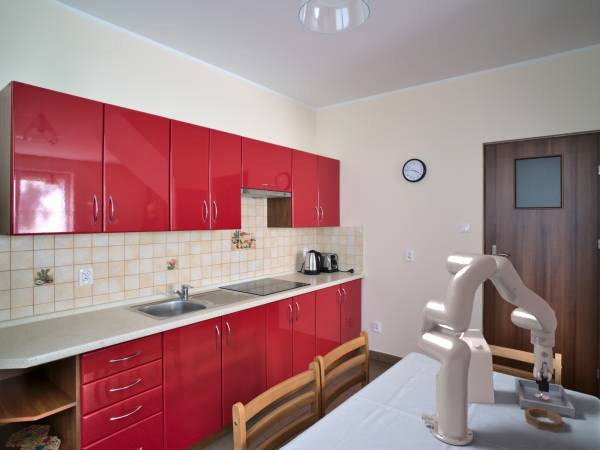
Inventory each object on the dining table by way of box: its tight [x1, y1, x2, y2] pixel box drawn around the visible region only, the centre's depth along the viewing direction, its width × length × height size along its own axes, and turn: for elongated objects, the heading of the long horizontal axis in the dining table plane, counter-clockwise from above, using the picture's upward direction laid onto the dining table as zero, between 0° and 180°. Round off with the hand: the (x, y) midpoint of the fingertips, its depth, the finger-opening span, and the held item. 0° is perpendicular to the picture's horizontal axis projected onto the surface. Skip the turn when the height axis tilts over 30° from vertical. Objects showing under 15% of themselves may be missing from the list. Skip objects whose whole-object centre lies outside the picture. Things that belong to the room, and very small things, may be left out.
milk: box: [459, 328, 495, 405], centre depth 143 cm, size 12×12×26 cm
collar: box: [524, 407, 565, 433], centre depth 124 cm, size 10×10×2 cm
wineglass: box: [532, 363, 553, 399], centre depth 137 cm, size 6×6×12 cm
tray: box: [514, 377, 575, 420], centre depth 138 cm, size 16×20×4 cm
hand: (542, 387), depth 137 cm, fingers closed on wineglass, 5 cm apart
